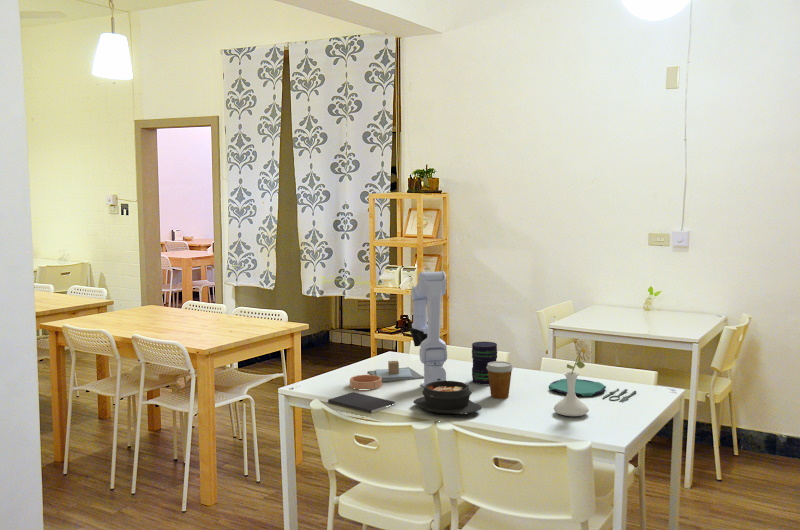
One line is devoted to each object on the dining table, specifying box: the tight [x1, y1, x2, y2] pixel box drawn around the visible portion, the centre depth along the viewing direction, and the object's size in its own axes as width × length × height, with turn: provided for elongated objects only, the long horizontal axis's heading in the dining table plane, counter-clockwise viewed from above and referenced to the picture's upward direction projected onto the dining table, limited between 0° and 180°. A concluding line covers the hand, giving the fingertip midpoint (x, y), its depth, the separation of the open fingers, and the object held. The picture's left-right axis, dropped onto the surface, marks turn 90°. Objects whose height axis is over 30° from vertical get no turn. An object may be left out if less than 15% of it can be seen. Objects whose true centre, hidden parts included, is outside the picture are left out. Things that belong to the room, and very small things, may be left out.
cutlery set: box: [548, 378, 637, 403], centre depth 274 cm, size 20×30×2 cm, turn 53°
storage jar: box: [471, 341, 498, 386], centre depth 290 cm, size 10×10×15 cm
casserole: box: [413, 380, 482, 415], centre depth 254 cm, size 25×19×8 cm
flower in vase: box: [553, 338, 592, 417], centre depth 246 cm, size 13×11×25 cm
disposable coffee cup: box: [486, 360, 514, 400], centre depth 269 cm, size 10×10×12 cm
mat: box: [367, 366, 424, 383], centre depth 303 cm, size 18×18×1 cm
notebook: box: [327, 391, 396, 414], centre depth 263 cm, size 13×2×21 cm
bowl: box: [349, 374, 383, 390], centre depth 286 cm, size 12×12×3 cm
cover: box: [375, 360, 412, 379], centre depth 303 cm, size 14×14×5 cm
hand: (420, 347), depth 308 cm, fingers open, 7 cm apart
